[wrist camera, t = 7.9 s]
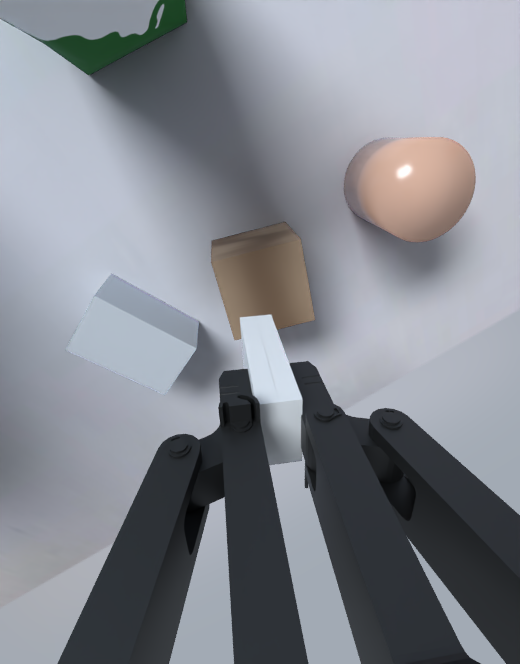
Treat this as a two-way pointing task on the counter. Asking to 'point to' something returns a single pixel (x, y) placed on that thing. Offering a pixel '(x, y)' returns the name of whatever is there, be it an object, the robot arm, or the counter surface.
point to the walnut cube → (263, 276)
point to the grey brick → (135, 335)
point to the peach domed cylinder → (411, 185)
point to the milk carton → (94, 26)
